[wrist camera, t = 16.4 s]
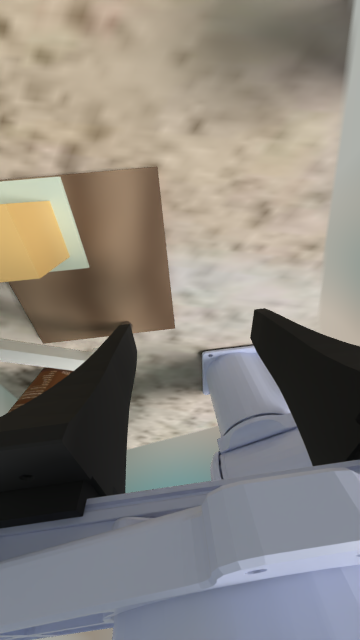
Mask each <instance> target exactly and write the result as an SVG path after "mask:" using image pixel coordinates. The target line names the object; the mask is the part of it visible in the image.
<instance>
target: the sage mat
mask: <svg viewBox="0 0 360 640" xmlns="http://www.w3.org/2000/svg"><path fill="white" fill-rule="evenodd" d="M38 201H50V203H51V206H52V209H53V211H54V214H55V217H56V220H57V222H58V225H59V228H60V231H61V233H62V236H63V239H64V242H65V244H66V247H67V250H68V253H69V255H70V257H69V258H68V259H66V260H65V261H64V262H62V263H61V264H59V265H58V266H57V267H55V268H54V269H52V270H51V271H50V272H54V271H64V270H73V269H83V268H89V264H88V260H87V257H86V254H85V251H84V248H83V245H82V242H81V239H80V236H79V233H78V230H77V227H76V223H75V220H74V217H73V214H72V211H71V208H70V205H69V202H68V199H67V196H66V193H65V190H64V186H63V183H62V180H61V177H48V178H36V179H24V180H13V181H1V182H0V204H9V203H23V202H38Z"/></svg>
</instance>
